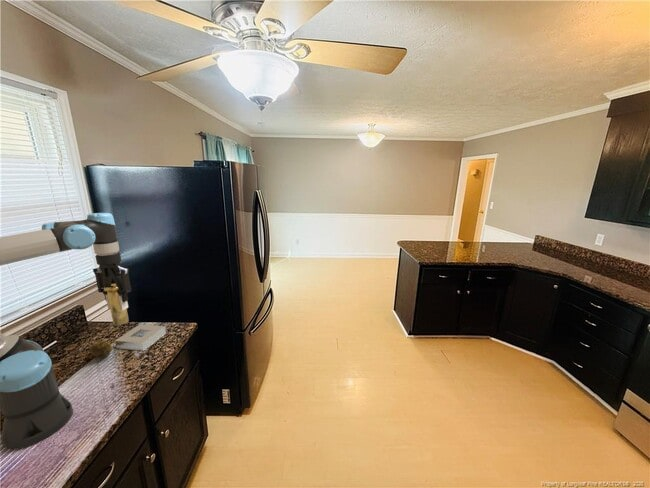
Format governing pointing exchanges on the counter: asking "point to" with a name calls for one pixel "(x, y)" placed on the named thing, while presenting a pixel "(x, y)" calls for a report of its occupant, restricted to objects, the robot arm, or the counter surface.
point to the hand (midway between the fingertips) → (118, 308)
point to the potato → (101, 349)
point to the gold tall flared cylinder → (116, 306)
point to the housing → (140, 337)
